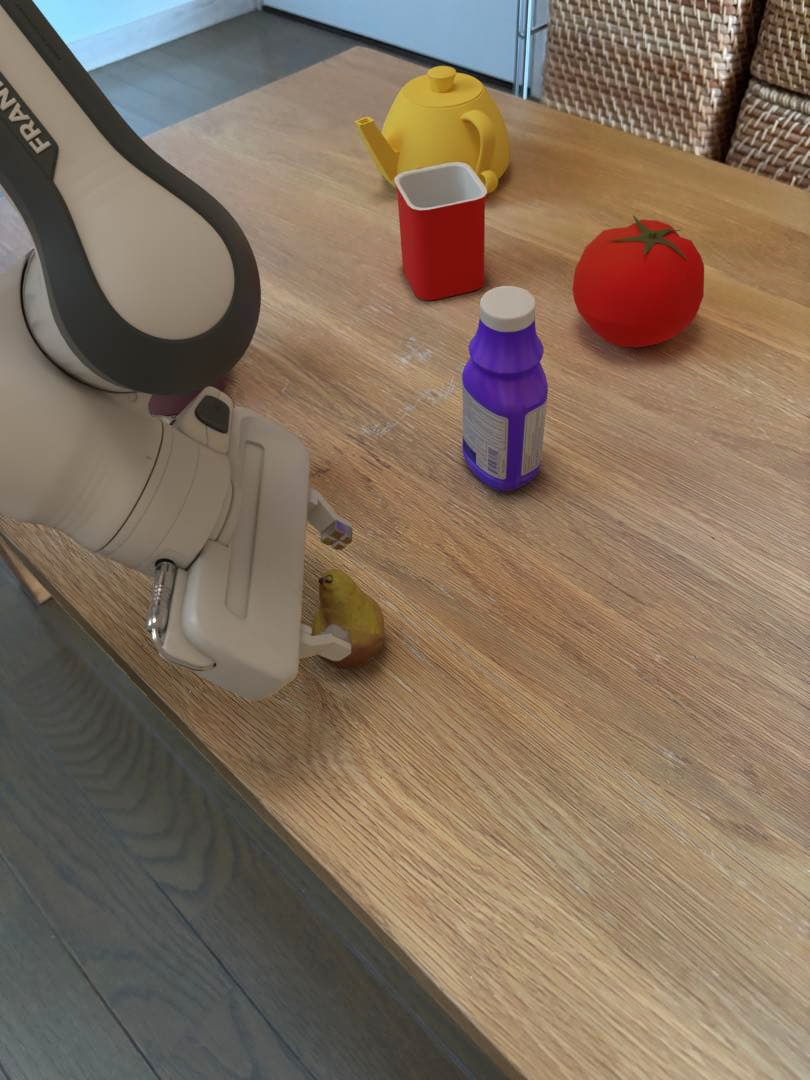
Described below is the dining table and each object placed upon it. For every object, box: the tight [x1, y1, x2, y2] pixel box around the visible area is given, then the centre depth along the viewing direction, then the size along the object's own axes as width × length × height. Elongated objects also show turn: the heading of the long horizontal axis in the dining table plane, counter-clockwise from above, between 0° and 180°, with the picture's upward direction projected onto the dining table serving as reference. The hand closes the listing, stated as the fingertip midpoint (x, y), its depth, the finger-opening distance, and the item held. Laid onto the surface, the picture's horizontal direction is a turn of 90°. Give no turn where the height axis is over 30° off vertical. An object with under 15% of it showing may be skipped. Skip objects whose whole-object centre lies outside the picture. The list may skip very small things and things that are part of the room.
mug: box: [394, 162, 488, 302], centre depth 93 cm, size 12×8×11 cm
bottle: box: [461, 285, 549, 493], centre depth 69 cm, size 7×6×17 cm
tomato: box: [572, 214, 705, 348], centre depth 84 cm, size 13×12×11 cm
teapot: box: [354, 65, 511, 194], centre depth 104 cm, size 20×19×13 cm
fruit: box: [311, 568, 385, 670], centre depth 60 cm, size 6×6×12 cm
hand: (346, 590), depth 60 cm, fingers open, 8 cm apart
